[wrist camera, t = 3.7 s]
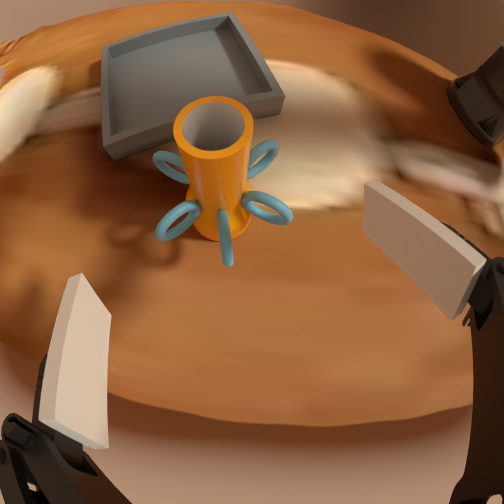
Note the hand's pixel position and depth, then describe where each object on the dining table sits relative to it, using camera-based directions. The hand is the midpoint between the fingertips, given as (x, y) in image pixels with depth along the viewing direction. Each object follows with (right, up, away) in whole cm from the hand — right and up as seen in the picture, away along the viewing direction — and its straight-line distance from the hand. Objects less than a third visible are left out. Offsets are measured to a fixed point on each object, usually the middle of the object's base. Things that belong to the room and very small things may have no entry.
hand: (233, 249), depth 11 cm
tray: (-9, +23, +18) cm, 30 cm away
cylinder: (-2, +4, +16) cm, 16 cm away
